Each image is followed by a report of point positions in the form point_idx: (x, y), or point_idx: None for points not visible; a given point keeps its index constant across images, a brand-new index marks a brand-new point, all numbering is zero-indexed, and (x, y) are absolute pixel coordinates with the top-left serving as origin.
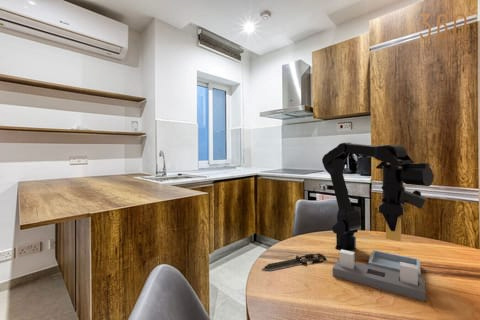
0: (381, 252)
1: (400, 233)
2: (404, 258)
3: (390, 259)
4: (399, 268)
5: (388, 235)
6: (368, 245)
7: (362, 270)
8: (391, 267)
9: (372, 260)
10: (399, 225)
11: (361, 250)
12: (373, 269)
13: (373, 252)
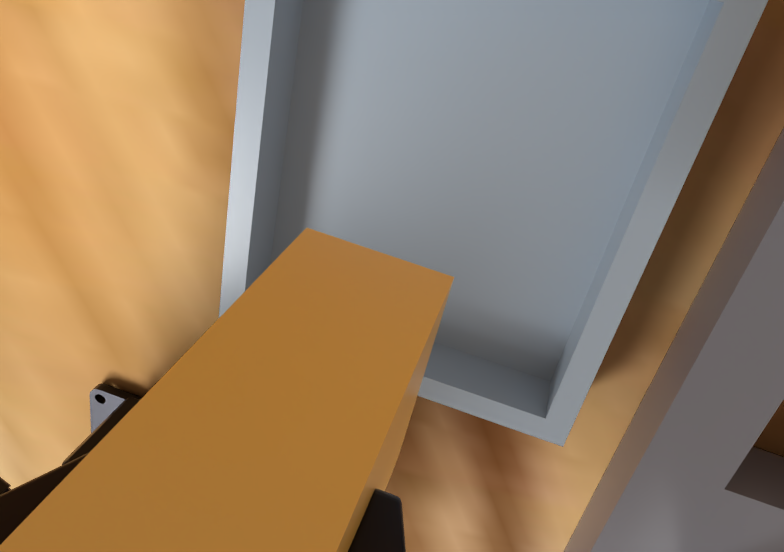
0: (248, 261)
1: (413, 373)
2: (279, 34)
3: (284, 161)
4: (649, 191)
5: (388, 479)
6: (7, 266)
7: (782, 543)
8: (643, 270)
9: (471, 383)
10: (338, 546)
11: (158, 351)
12: (738, 451)
13: None
